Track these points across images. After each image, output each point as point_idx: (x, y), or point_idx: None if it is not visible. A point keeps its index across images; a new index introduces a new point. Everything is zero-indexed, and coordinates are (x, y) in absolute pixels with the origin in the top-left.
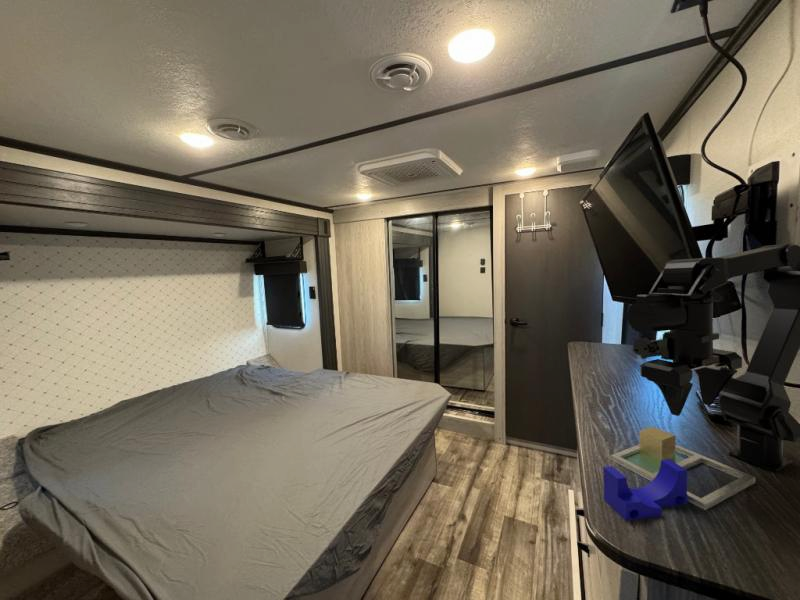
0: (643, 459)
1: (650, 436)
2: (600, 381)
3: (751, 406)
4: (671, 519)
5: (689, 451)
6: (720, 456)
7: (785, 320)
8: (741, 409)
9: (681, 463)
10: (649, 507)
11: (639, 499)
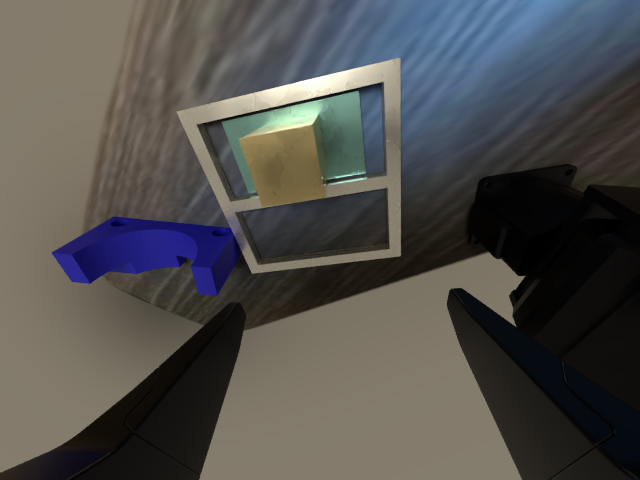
0: None
1: (252, 174)
2: None
3: (563, 346)
4: None
5: (394, 159)
6: (456, 176)
7: None
8: (554, 309)
9: None
10: (158, 267)
11: (144, 261)
